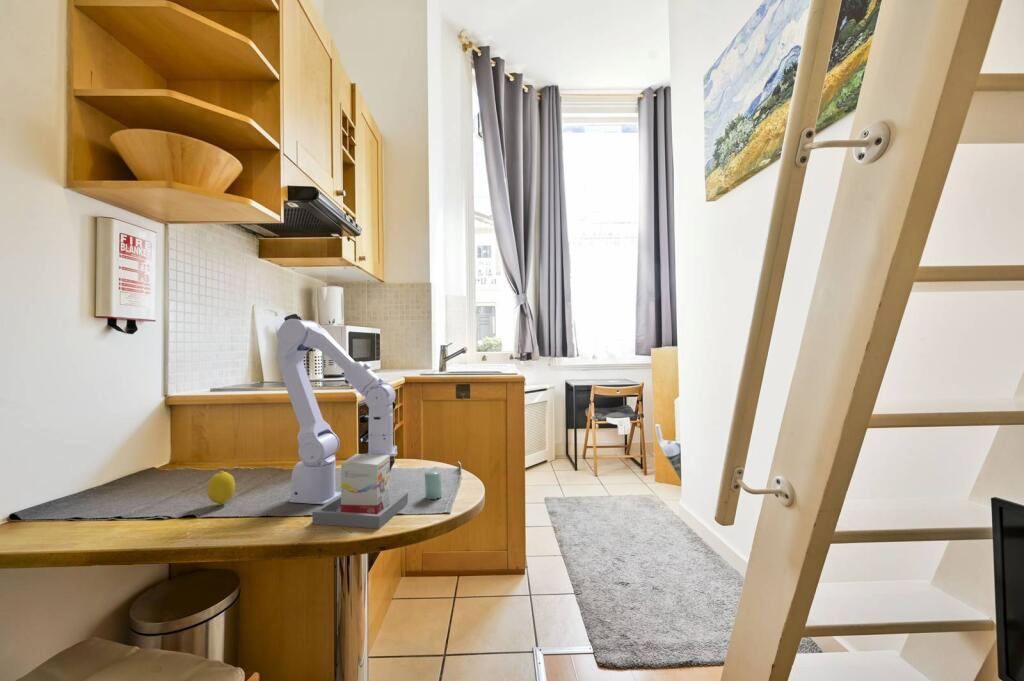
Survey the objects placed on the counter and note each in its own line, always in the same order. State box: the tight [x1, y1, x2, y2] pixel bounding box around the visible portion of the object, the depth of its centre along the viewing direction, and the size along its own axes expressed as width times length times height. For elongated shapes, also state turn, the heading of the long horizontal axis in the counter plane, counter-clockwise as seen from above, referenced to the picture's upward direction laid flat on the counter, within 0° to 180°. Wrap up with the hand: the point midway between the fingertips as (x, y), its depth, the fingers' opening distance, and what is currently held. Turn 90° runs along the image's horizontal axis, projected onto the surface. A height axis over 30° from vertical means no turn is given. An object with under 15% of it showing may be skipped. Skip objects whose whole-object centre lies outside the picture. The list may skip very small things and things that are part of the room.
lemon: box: [206, 470, 236, 505], centre depth 108 cm, size 6×6×8 cm
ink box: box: [340, 453, 391, 514], centre depth 105 cm, size 9×9×12 cm
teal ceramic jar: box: [424, 470, 443, 500], centre depth 114 cm, size 4×4×6 cm
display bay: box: [311, 492, 409, 530], centre depth 103 cm, size 15×15×2 cm
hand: (380, 489), depth 112 cm, fingers closed
